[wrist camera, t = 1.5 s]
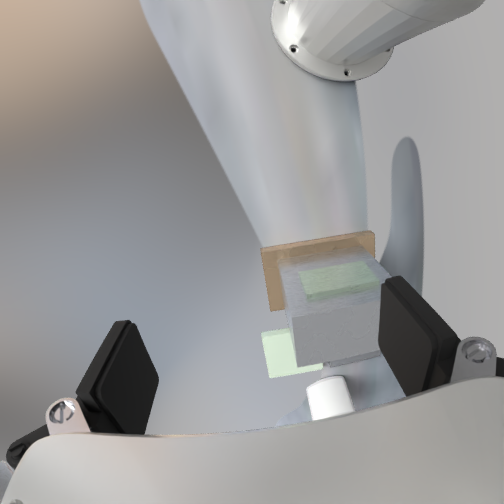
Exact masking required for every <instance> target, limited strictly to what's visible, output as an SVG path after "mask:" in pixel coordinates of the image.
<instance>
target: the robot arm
mask: <svg viewBox="0 0 504 504" xmlns="http://www.w3.org/2000/svg"><path fill="white" fill-rule="evenodd" d="M484 1H485V0H275V1H274V3H273V6H272V11H271V26H272V30H273V34H274V36H275V38H276V41H277V43H278V45H279V46H280V47H281V49H282V50H283V52H284V53H285V54H286V55H287V56H288V57H289V58H290V59H291V60H292V61H293V62H294V63H295V64H297V65H298V66H299V67H301V68H302V69H304V70H306V71H307V72H309V73H311V74H313V75H315V76H318V77H321V78H324V79H328V80H333V81H355V80H361V79H363V78H366V77H368V76H371V75H373V74H375V73H377V72H378V71H379V70H380V69H382V68H383V67H384V66H385V65H386V63H387V62H388V60H389V59H390V57H391V55H392V53H393V49H394V46H396V45H398V44H400V43H402V42H404V41H406V40H409V39H411V38H413V37H415V36H417V35H419V34H422V33H424V32H426V31H429V30H431V29H433V28H436V27H438V26H440V25H443V24H445V23H448V22H450V21H453V20H454V19H457V18H459V17H462V16H464V15H467V14H469V13H471V12H473V11H474V10H476V9H477V8H478V7H480V6H481V5H482V4H483V2H484ZM281 2H282V3H284V4H281ZM291 49H294V50H295V52H294V53H293V52H291ZM344 72H346V73H347V76H346V75H345V74H344ZM378 345H379V348H380V350H381V352H382V354H383V355H384V357H385V359H386V361H387V362H388V364H389V366H390V368H391V369H392V371H393V373H394V375H395V377H396V378H397V380H398V382H399V384H400V386H401V388H402V389H403V391H404V393H405V395H406V397H404V398H401V399H398V400H394V401H391V402H388V403H384V404H381V405H377V406H373V407H370V408H366V409H362V410H358V411H354V412H350V413H346V414H342V415H338V416H333V417H328V418H324V419H319V420H314V421H308V422H303V423H297V424H291V425H285V426H278V427H271V428H264V429H256V430H247V431H237V432H225V433H210V434H190V435H144V434H145V430H146V426H147V423H148V419H149V415H150V412H151V408H152V404H153V401H154V397H155V393H156V390H157V387H158V382H159V377H158V374H157V372H156V369H155V367H154V365H153V363H152V361H151V359H150V356H149V354H148V352H147V350H146V347H145V345H144V343H143V340H142V338H141V336H140V333H139V331H138V329H137V326H136V325H135V324H134V323H131V321H130V320H125V321H116V322H115V323H114V324H113V326H112V328H111V329H110V331H109V333H108V334H107V336H106V338H105V340H104V341H103V343H102V345H101V347H100V348H99V350H98V352H97V354H96V355H95V357H94V359H93V361H92V362H91V364H90V366H89V368H88V370H87V371H86V373H85V375H84V377H83V379H82V381H81V383H80V384H79V386H78V388H77V390H76V394H77V395H78V396H77V398H76V400H75V399H73V398H62V399H60V400H57V401H56V402H54V403H53V404H52V405H51V406H50V407H49V408H48V410H47V412H46V423H47V424H46V425H44V426H42V427H40V428H39V429H37V430H35V431H33V432H31V433H29V434H28V435H26V436H24V437H22V438H20V439H18V440H16V441H15V442H14V443H12V444H11V446H10V447H9V449H8V451H7V454H6V458H7V462H5V461H3V460H2V461H1V462H0V504H504V358H499V357H496V355H497V354H496V349H495V347H494V345H493V344H492V343H491V342H490V341H488V340H486V339H484V338H480V337H469V338H466V339H464V340H462V341H461V340H460V339H459V338H458V337H457V335H456V333H455V332H454V331H453V330H452V329H451V328H450V327H449V326H448V325H447V323H446V322H445V321H444V320H443V319H442V318H441V317H440V316H439V315H438V314H437V313H436V312H435V310H434V309H433V308H432V307H431V306H430V305H429V304H428V303H427V302H426V301H425V300H424V299H423V298H422V297H421V296H420V295H419V294H418V293H417V292H416V291H415V290H414V289H413V288H412V286H411V285H410V284H409V283H408V282H407V281H406V280H405V279H404V278H403V277H401V276H396V277H391V278H387V279H386V280H385V283H382V285H381V300H380V319H379V333H378Z"/></svg>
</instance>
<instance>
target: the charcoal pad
mask: <svg viewBox="0 0 504 504" xmlns="http://www.w3.org/2000/svg"><path fill="white" fill-rule="evenodd" d="M380 352H381V350H377V351H373V352H369V353H365V354H361V355H357V356H352V357H348V358H343V359H339V360H334V361H329V365H330V367H335V366H339V365H344V364H348V363H353V362H357V361H361V360H365V359H369V358H373V357H377V356H380Z"/></svg>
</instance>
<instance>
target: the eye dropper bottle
mask: <svg viewBox="0 0 504 504" xmlns="http://www.w3.org/2000/svg"><path fill="white" fill-rule="evenodd" d="M306 392H307V396H308V401H309V406H310V410H311V415H312V419H313V421H314V420H319V419H324V418H328V417H333V416H338V415H342V414H346V413H350V412H354V411H356V410H355V407H354V404H353V401H352V398H351V395H350V393H349V390H348V387H347V384H346V381H345V379H344V377H343V376H331V377H327V378H323V379H321V380H318V381H316V382H314V383H313V384H311V385H309V386H308V387H307V390H306Z"/></svg>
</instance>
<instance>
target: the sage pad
mask: <svg viewBox="0 0 504 504" xmlns="http://www.w3.org/2000/svg"><path fill="white" fill-rule="evenodd" d="M261 335H262V341H263V346H264V352H265V357H266V362H267V367H268V372H269V377H270V378H274V377H281V376H287V375H293V374H299V373H304V372H309V371H314V370H320V369H323V363H319V364H314V365H309V366H303V367H298V368H297V364H296V359H295V354H294V349H293V345H292V340H291V335H290V331H289V328H285V329H279V330H272V331H266V332H261Z"/></svg>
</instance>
